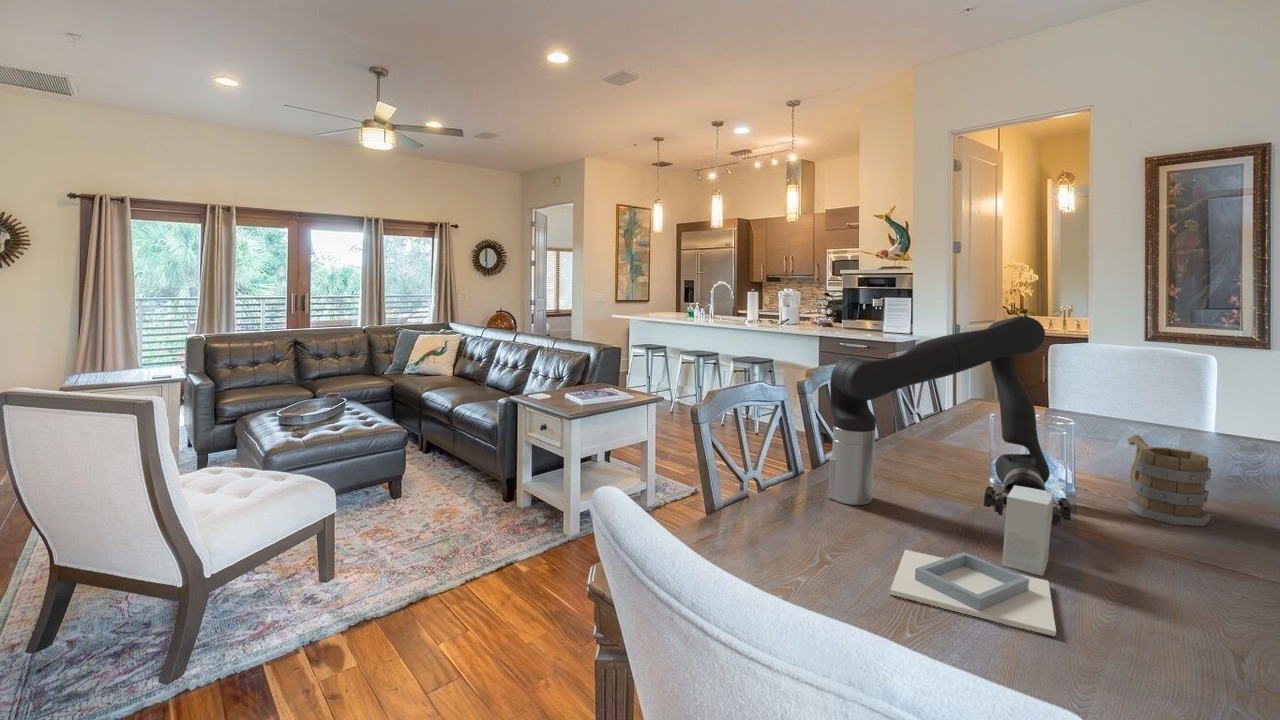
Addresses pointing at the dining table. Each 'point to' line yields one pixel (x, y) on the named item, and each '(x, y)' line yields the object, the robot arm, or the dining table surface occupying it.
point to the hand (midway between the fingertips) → (1027, 514)
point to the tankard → (1169, 484)
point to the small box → (1027, 529)
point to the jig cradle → (976, 589)
